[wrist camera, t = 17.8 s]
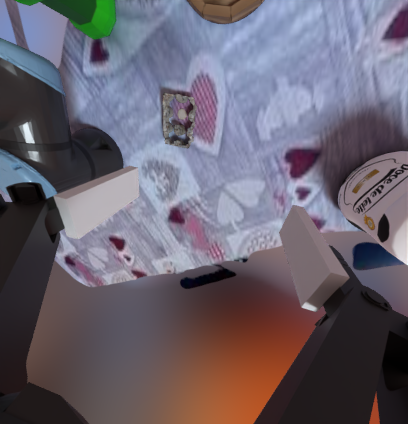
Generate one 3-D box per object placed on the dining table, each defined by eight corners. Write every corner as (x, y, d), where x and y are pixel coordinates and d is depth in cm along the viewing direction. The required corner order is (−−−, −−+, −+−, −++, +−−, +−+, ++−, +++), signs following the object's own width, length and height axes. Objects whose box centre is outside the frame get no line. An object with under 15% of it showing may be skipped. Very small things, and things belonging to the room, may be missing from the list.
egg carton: (169, 92, 38) (162, 89, 34) (201, 99, 37) (196, 97, 34) (166, 141, 43) (159, 143, 40) (193, 148, 42) (188, 151, 39)
